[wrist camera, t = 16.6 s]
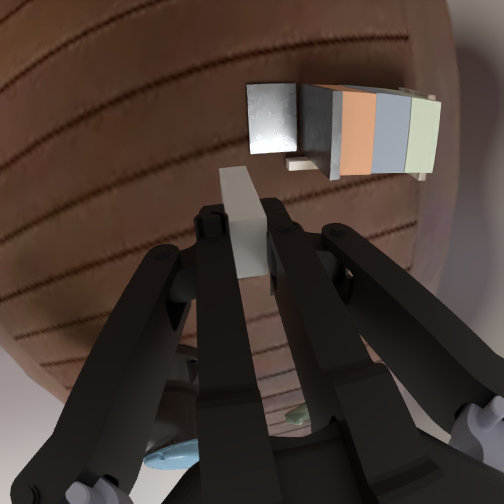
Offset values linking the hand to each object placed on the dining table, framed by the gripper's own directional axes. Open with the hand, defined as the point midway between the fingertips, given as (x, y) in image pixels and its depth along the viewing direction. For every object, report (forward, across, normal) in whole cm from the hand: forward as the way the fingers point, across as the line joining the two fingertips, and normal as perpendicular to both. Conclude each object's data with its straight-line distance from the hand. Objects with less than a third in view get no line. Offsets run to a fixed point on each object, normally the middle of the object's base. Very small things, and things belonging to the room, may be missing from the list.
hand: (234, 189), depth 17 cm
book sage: (+22, +23, +1) cm, 31 cm away
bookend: (+21, +7, +1) cm, 23 cm away
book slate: (+22, +18, +1) cm, 28 cm away
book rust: (+22, +14, 0) cm, 25 cm away
